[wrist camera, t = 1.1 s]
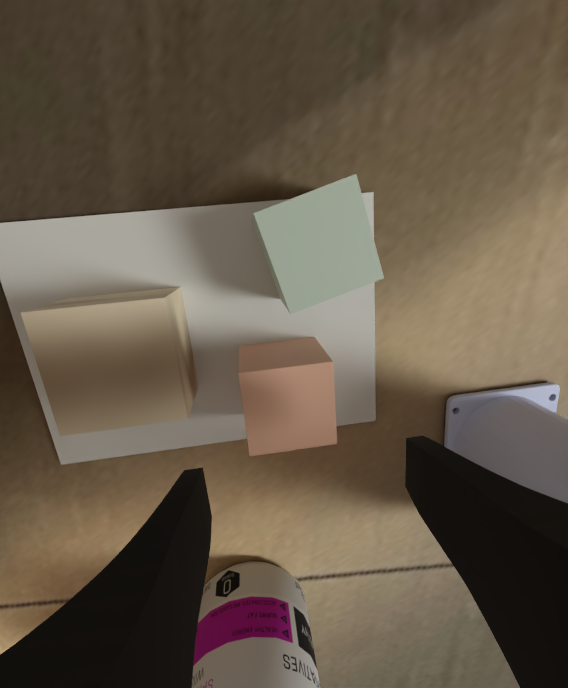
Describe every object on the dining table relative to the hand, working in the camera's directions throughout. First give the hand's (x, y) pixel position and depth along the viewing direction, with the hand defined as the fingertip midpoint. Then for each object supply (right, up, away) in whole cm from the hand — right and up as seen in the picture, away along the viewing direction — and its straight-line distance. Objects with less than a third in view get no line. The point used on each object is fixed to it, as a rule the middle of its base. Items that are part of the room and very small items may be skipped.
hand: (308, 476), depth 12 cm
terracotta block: (-1, +3, +9) cm, 10 cm away
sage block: (0, +10, +7) cm, 12 cm away
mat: (-5, +5, +8) cm, 11 cm away
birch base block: (-9, +5, +7) cm, 13 cm away
